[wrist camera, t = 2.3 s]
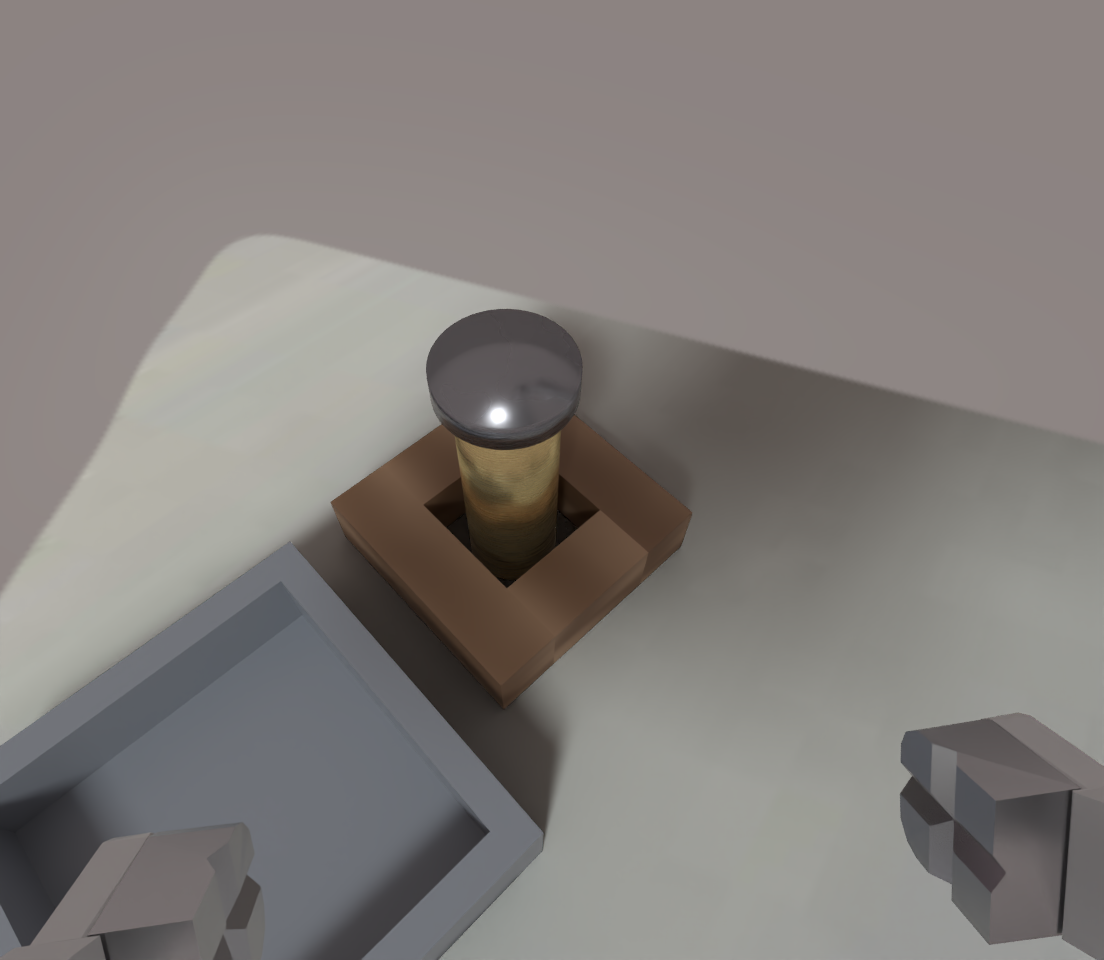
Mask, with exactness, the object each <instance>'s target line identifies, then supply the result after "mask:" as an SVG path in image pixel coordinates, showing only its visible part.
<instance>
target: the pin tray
mask: <svg viewBox="0 0 1104 960" xmlns="http://www.w3.org/2000/svg"><path fill="white" fill-rule="evenodd" d="M238 822H243V823H244V824H245V825H246V826H247V827H248V828H249V830H250V835H251V839H252V844H253V848H254V852H255V854H254V857H253V859H252V862H251V865H250V867H249V870H248V872H247V875H248V876H249V877H251V878H252V879H253V880H254V881H255V882H256V883H257V884H258V885H260V886H261V890H262V895H263V901H264V911H265V934H264V942H263V951H262V957H261V960H438V959H439V958H440V957H441V956H442V955H443V954H444V953H445V952H446V951H447V950H448V949H449V948H450V947H451V946H452V945H453V944H454V943H455V942H456V941H457V940H458V938H459V937H460V936H461V935H462V934H463V933H464V932H465V931H466V930H467V929H468V928H469V927H470V926H471V925H472V924H473V923H474V922H475V921H476V920H477V919H478V918H479V917H480V916H481V914H482V913H483V912H484V911H485V910H486V909H487V908H488V907H489V906H490V905H491V904H492V903H493V902H494V901H495V900H496V899H497V898H498V897H499V896H500V895H501V894H502V893H503V892H504V890H505V889H506V888H507V887H508V886H509V885H510V884H511V883H512V882H513V881H514V880H515V879H516V878H517V877H518V876H519V875H520V874H521V873H522V872H523V871H524V870H525V869H526V867H527V866H528V865H529V864H530V863H531V862H532V861H533V860H534V859H535V858H536V857H537V856H538V855H539V854H540V853H541V852H542V850H543V832H542V831H541V829H540V828H539V827H538V826H537V825H536V824H535V823H534V821H533V820H532V819H531V818H530V817H529V816H528V815H527V813H526V812H525V811H524V810H523V809H522V808H521V806H520V805H519V804H518V803H517V802H516V801H515V800H514V798H513V797H512V796H511V795H510V794H509V793H508V791H507V790H506V789H505V788H504V787H503V786H502V785H501V783H500V782H499V781H498V780H497V779H496V778H495V777H494V775H493V774H492V773H491V772H490V771H489V770H488V768H487V767H486V766H485V765H484V764H483V763H482V762H481V760H480V759H479V758H478V757H477V756H476V755H475V754H474V752H473V751H472V750H471V749H470V748H469V747H468V745H467V744H466V743H465V742H464V741H463V740H462V739H461V737H460V736H459V735H458V734H457V733H456V732H455V730H454V729H453V728H452V727H451V726H450V725H449V724H448V722H447V721H446V720H445V719H444V718H443V717H442V716H441V714H440V713H439V712H438V711H437V710H436V709H435V707H434V706H433V705H432V704H431V703H430V702H429V701H428V699H427V698H426V697H425V696H424V695H423V694H422V693H421V691H420V690H419V689H418V688H417V687H416V686H415V684H414V683H413V682H412V681H411V680H410V679H409V678H408V676H407V675H406V674H405V673H404V672H403V671H402V670H401V668H400V667H399V666H398V665H397V664H396V663H395V661H394V660H393V659H392V658H391V657H390V656H389V655H388V653H387V652H386V651H385V650H384V649H383V648H382V646H381V645H380V644H379V643H378V642H377V641H376V640H375V638H374V637H373V636H372V635H371V634H370V633H369V632H368V630H367V629H366V628H365V627H364V626H363V625H362V623H361V622H360V621H359V620H358V619H357V618H356V617H355V615H354V614H353V613H352V612H351V611H350V610H349V609H348V607H347V606H346V605H345V604H344V603H343V602H342V600H341V599H340V598H339V597H338V596H337V595H336V594H335V592H334V591H333V590H332V589H331V588H330V587H329V585H328V584H327V583H326V582H325V581H324V580H323V579H322V577H321V576H320V575H319V574H318V573H317V572H316V571H315V569H314V568H313V567H312V566H311V565H310V564H309V562H308V561H307V560H306V559H305V558H304V557H303V556H302V554H301V553H300V552H299V551H298V550H297V549H296V548H295V546H294V545H293V544H292V543H291V542H288V543H287V544H286V545H284V546H283V547H281V548H280V549H279V550H277V551H276V552H274V553H273V554H272V555H270V556H269V557H267V558H266V559H264V560H263V561H262V562H260V563H259V564H257V565H256V566H255V567H253V568H252V569H250V570H249V571H247V572H246V573H245V574H243V575H242V576H240V577H239V578H238V579H236V580H235V581H233V582H232V583H230V584H229V585H228V586H226V587H225V588H223V589H222V590H221V591H219V592H218V593H216V594H215V595H213V596H212V597H211V598H209V599H208V600H206V601H205V602H204V603H202V604H201V605H199V606H198V607H196V608H195V609H194V610H192V611H191V612H189V613H188V614H187V615H185V616H184V617H182V618H181V619H179V620H178V621H177V622H175V623H174V624H172V625H171V626H170V627H168V628H167V629H165V630H164V631H163V632H161V633H160V634H158V635H157V636H155V637H154V638H153V639H151V640H150V641H148V642H147V643H146V644H144V645H143V646H141V647H140V648H138V649H137V650H136V651H134V652H133V653H131V654H130V655H129V656H127V657H126V658H124V659H123V660H121V661H120V662H119V663H117V664H116V665H114V666H113V667H112V668H110V669H109V670H107V671H106V672H104V673H103V674H102V675H100V676H99V677H97V678H96V679H95V680H93V681H92V682H90V683H89V684H87V685H86V686H85V687H83V688H82V689H80V690H79V691H78V692H76V693H75V694H73V695H72V696H70V697H69V698H68V699H66V700H65V701H63V702H62V703H61V704H59V705H58V706H56V707H55V708H54V709H52V710H51V711H49V712H48V713H46V714H45V715H44V716H42V717H41V718H39V719H38V720H37V721H35V722H34V723H32V724H31V725H29V726H28V727H27V728H25V729H24V730H22V731H21V732H20V733H18V734H17V735H15V736H14V737H12V738H11V739H10V740H8V741H7V742H5V743H4V744H3V745H1V746H0V957H2V956H3V955H5V954H6V953H8V952H9V951H11V950H12V949H14V948H18V947H24V946H30V945H31V943H32V942H33V940H34V939H35V937H36V936H37V935H38V933H39V932H40V930H41V929H42V928H43V926H44V925H45V923H46V922H47V920H48V919H49V918H50V916H51V915H52V913H53V912H54V910H55V909H56V908H57V906H58V905H59V903H60V902H61V901H62V899H63V898H64V896H65V895H66V893H67V892H68V891H69V889H70V888H71V886H72V885H73V884H74V882H75V881H76V879H77V878H78V876H79V875H80V874H81V872H82V871H83V869H84V868H85V866H86V865H87V864H88V862H89V861H90V859H91V858H92V857H93V855H94V854H95V852H96V851H97V849H98V848H99V847H100V845H101V844H102V843H103V842H105V841H108V840H110V839H112V838H117V837H123V836H130V835H137V834H144V833H157V832H161V831H170V830H178V829H187V828H196V827H204V826H213V825H221V824H230V823H238Z"/></svg>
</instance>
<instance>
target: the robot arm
mask: <svg viewBox="0 0 1104 960" xmlns="http://www.w3.org/2000/svg"><path fill="white" fill-rule="evenodd" d="M901 763H902V764H903V765H904V767H905V768H906V769H907V770H908V772H909V773H910V774H911V775H912V777H911V778H910V780H909V781H908V783H907V784H906V786H905V787H904V789H903V790H902V792H901V793H900V810H901V821H902V824H903V828H904V831H905V835H906V838H907V841H908V843H909V845H910V847H911V849H912V851H913V852H914V854H915V856H916V858H917V859H918V860H919V862H920V863H921V864H922V865H923V867H924V868H925V869H926V870H927V872H928V873H930V874H932V875H934V876H936V877H938V878H940V879H942V880H944V881H946V882H948V883H950V884H952V902H953V903H954V904H955V905H956V906H957V907H958V909H959V910H960V911H961V912H962V913H963V915H964V916H965V917H966V918H967V919H968V920H969V922H970V923H971V924H972V925H973V926H974V928H975V929H976V930H977V931H978V932H979V933H980V935H981V936H982V937H983V938H984V939H985V941H986V942H987V943H988V944H989V945H991V944H999V943H1006V942H1014V941H1021V940H1029V939H1037V938H1044V937H1052V936H1059V935H1062V939H1063V940H1064V941H1066V942H1068V943H1070V944H1071V945H1073V946H1075V947H1076V948H1078V949H1080V950H1081V951H1083V952H1085V953H1086V954H1088V955H1090V956H1091V957H1093V958H1095V959H1096V960H1104V766H1102V765H1101V764H1100V763H1098V762H1097V761H1095V760H1094V759H1092V758H1091V757H1089V756H1088V755H1087V754H1085V753H1084V752H1082V751H1081V750H1079V749H1078V748H1076V747H1075V746H1074V745H1072V744H1071V743H1069V742H1068V741H1066V740H1065V739H1064V738H1062V737H1061V736H1059V735H1058V734H1056V733H1055V732H1053V731H1052V730H1051V729H1049V728H1048V727H1046V726H1045V725H1043V724H1042V723H1041V722H1039V721H1038V720H1036V719H1035V718H1033V717H1032V716H1030V715H1026V714H1022V713H1013V714H1007V715H1001V716H996V717H990V718H984V719H981V720H976V721H970V722H964V723H957V724H951V725H945V726H939V727H932V728H926V729H920V730H914V731H907V732H906V733H905V735H904V738H903V741H902V743H901ZM254 854H255V852H254V848H253V844H252V839H251V835H250V830H249V828H248V827H247V826H246V825H245V824H244V823H243V822H238V823H230V824H221V825H213V826H204V827H196V828H187V829H178V830H170V831H161V832H157V833H144V834H137V835H130V836H123V837H117V838H112V839H110V840H108V841H105V842H103V843H102V844H101V845H100V847H99V848H98V849H97V851H96V852H95V854H94V855H93V857H92V858H91V859H90V861H89V862H88V864H87V865H86V866H85V868H84V869H83V871H82V872H81V874H80V875H79V876H78V878H77V879H76V881H75V882H74V884H73V885H72V886H71V888H70V889H69V891H68V892H67V893H66V895H65V896H64V898H63V899H62V901H61V902H60V903H59V905H58V906H57V908H56V909H55V910H54V912H53V913H52V915H51V916H50V918H49V919H48V920H47V922H46V923H45V925H44V926H43V928H42V929H41V930H40V932H39V933H38V935H37V936H36V937H35V939H34V940H33V942H32V943H31V945H30V946H24V947H18V948H14V949H12V950H11V951H9V952H8V953H6V954H5V955H3V956H2V957H0V960H261V957H262V951H263V942H264V934H265V911H264V901H263V895H262V890H261V886H260V885H258V884H257V883H256V882H255V881H254V880H253V879H252V878H251V877H249V876H248V875H247V872H248V870H249V867H250V865H251V862H252V859H253V857H254Z"/></svg>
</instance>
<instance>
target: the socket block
mask: <svg viewBox="0 0 1104 960" xmlns="http://www.w3.org/2000/svg"><path fill="white" fill-rule="evenodd" d="M331 504H332V507H333V509H334V511H335V514H336V516H337V518H338V521H339V523H340V525H341V527H342V530H343V532H344V534H345V537H346V538H347V539H348V540H349V541H350V542H351V543H352V544H353V545H354V546H355V547H356V549H357V550H358V551H359V552H360V553H361V554H362V555H363V556H364V557H365V558H366V559H367V561H368V562H369V563H370V564H371V565H372V566H373V567H374V568H375V569H376V570H377V572H378V573H379V574H380V575H381V576H382V577H383V578H384V579H385V580H386V581H387V582H388V584H389V585H390V586H391V587H392V588H393V589H394V590H395V591H396V592H397V593H398V594H399V596H400V597H401V598H402V599H403V600H404V601H405V602H406V603H407V604H408V605H409V606H410V608H411V609H412V610H413V611H414V612H415V613H416V614H417V615H418V616H419V617H420V618H421V620H422V621H423V622H424V623H425V624H426V625H427V626H428V627H429V628H430V629H431V631H432V632H433V633H434V634H435V635H436V636H437V637H438V638H439V639H440V640H441V641H442V643H443V644H444V645H445V646H446V647H447V648H448V649H449V650H450V651H451V652H452V653H453V655H454V656H455V657H456V658H457V659H458V660H459V661H460V662H461V663H462V664H463V665H464V667H465V668H466V669H467V670H468V671H469V672H470V673H471V674H472V675H473V676H474V677H475V679H476V680H477V681H478V682H479V683H480V684H481V685H482V686H483V687H484V688H485V690H486V691H487V692H488V693H489V694H490V695H491V696H492V697H493V698H494V699H495V700H496V702H497V703H498V704H499V705H500V706H501V707H502V708H503V709H505V708H506V707H507V706H508V705H509V704H510V703H511V702H513V701H514V700H515V699H516V698H517V697H518V696H519V695H520V694H521V693H522V692H523V691H524V690H526V689H527V688H528V687H529V686H530V685H531V684H532V683H533V682H534V681H535V680H536V679H538V678H539V677H540V676H541V675H542V674H543V673H544V672H545V671H546V670H547V669H548V668H549V667H551V666H552V665H553V664H554V663H555V662H556V661H557V660H558V659H559V658H560V657H561V656H562V655H564V654H565V653H566V652H567V651H568V650H569V649H570V648H571V647H572V646H573V645H574V644H575V643H577V642H578V641H579V640H580V639H581V638H582V637H583V636H584V635H585V634H586V633H587V632H588V631H590V630H591V629H592V628H593V627H594V626H595V625H596V624H597V623H598V622H599V621H600V620H602V619H603V618H604V617H605V616H606V615H607V614H608V613H609V612H610V611H611V610H612V609H613V608H615V607H616V606H617V605H618V604H619V603H620V602H621V601H622V600H623V599H624V598H625V597H626V596H628V595H629V594H630V593H631V592H632V591H633V590H634V589H635V588H636V587H637V586H638V585H639V584H641V583H642V582H643V581H644V580H645V579H646V578H647V577H648V576H649V575H650V574H651V573H653V572H654V571H655V570H656V569H657V568H658V567H659V566H660V565H661V564H662V563H663V562H664V561H666V560H667V559H668V558H669V557H670V556H671V555H672V554H673V553H674V552H675V551H676V550H677V549H679V548H680V547H681V545H682V542H683V539H684V536H685V533H686V530H687V528H688V525H689V522H690V519H691V516H692V512H691V511H690V510H689V509H688V508H686V507H685V506H684V505H683V504H682V503H680V502H679V501H678V500H677V499H676V498H674V497H673V496H672V495H671V494H670V493H668V492H667V491H666V490H665V489H663V488H662V487H661V486H660V485H659V484H657V483H656V482H655V481H654V480H653V479H651V478H650V477H649V476H648V475H647V474H645V473H644V472H643V471H642V470H641V469H639V468H638V467H637V466H636V465H635V464H633V463H632V462H631V461H630V460H628V459H627V458H626V457H625V456H624V455H622V454H621V453H620V452H619V451H618V450H616V449H615V448H614V447H613V446H612V445H610V444H609V443H608V442H607V441H606V440H604V439H603V438H602V437H601V436H600V435H598V434H597V433H596V432H595V431H593V430H592V429H591V428H590V427H589V426H587V425H586V424H585V423H584V422H583V421H581V420H580V419H579V418H578V417H577V416H575V415H574V416H573V417H572V419H571V420H570V421H569V423H568V424H567V425H566V426H565V427H564V428H563V429H562V430H561V439H560V460H559V481H558V502H557V509H558V510H559V511H560V512H561V513H562V514H563V515H564V516H566V517H567V518H568V519H569V520H570V521H571V522H572V523H573V524H574V525H576V526H577V527H578V529H577V530H576V531H575V532H573V533H572V534H571V535H570V536H569V537H567V538H566V539H565V540H564V541H563V542H561V543H560V544H559V545H558V546H557V547H556V548H554V549H553V550H552V551H551V552H550V553H548V554H547V555H546V556H545V557H544V558H542V559H541V560H540V561H539V562H538V563H537V564H535V565H534V566H533V567H532V568H531V569H529V570H528V571H527V572H526V573H525V574H523V575H522V576H521V577H520V578H519V579H518V580H516V581H515V582H514V583H513V584H512V585H510V586H509V587H508V588H506V587H505V586H504V585H503V584H502V583H501V582H500V581H499V580H498V579H497V578H496V577H495V576H494V575H493V574H492V573H491V572H490V571H489V570H488V569H487V568H486V567H485V566H484V565H483V564H482V563H481V562H480V561H479V560H478V559H477V558H476V557H475V556H474V555H473V554H472V553H471V552H470V551H469V550H468V549H467V548H466V547H465V546H464V545H463V544H462V543H461V542H460V541H459V540H458V539H457V538H456V537H455V536H454V535H453V534H452V533H451V532H450V531H449V530H448V529H447V528H446V527H447V526H449V525H450V524H451V523H453V522H454V521H455V520H456V519H458V518H459V517H460V516H462V515H463V514H464V513H466V508H465V501H464V495H463V488H462V481H461V475H460V468H459V461H458V454H457V448H456V441H455V435H453V434H452V433H451V432H450V431H448V430H447V429H446V428H445V427H444V426H443V424H441V425H440V426H439V427H437V428H436V429H434V430H433V431H431V432H430V433H429V434H427V435H426V436H424V437H423V438H421V439H420V440H419V441H417V442H416V443H414V444H413V445H411V446H410V447H409V448H407V449H406V450H404V451H403V452H401V453H400V454H399V455H397V456H396V457H394V458H393V459H391V460H390V461H389V462H387V463H386V464H384V465H383V466H381V467H380V468H379V469H377V470H376V471H374V472H373V473H371V474H370V475H369V476H367V477H366V478H364V479H363V480H361V481H360V482H359V483H357V484H356V485H354V486H353V487H351V488H350V489H349V490H347V491H346V492H344V493H343V494H341V495H340V496H339V497H337V498H336V499H334V500H333V501H331Z"/></svg>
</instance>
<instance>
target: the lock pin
mask: <svg viewBox="0 0 1104 960" xmlns="http://www.w3.org/2000/svg"><path fill="white" fill-rule="evenodd" d="M426 374H427V381H428V387H429V392H430V398H431V403H432V406H433V410H434V412H435V414H436V416H437V418H438V419H439V420H440V422H441V423H442V424H443V426H444V427H445V428H446V429H447V430H448V431H450V432H451V433H452V434H453V435H455V441H456V448H457V454H458V461H459V468H460V475H461V481H462V488H463V495H464V501H465V508H466V515H467V521H468V528H469V535H470V542H471V548H472V553H473V555H474V556H475V557H476V558H477V559H478V560H479V561H480V562H481V563H482V564H483V565H484V566H485V567H486V568H487V569H488V570H489V571H490V572H491V573H492V574H493V575H494V576H495V577H498V578H502V579H507V580H518V579H519V578H520V577H521V576H522V575H523V574H525V573H526V572H527V571H528V570H529V569H531V568H532V567H533V566H534V565H535V564H537V563H538V562H539V561H540V560H541V559H542V558H544V557H545V556H546V555H547V554H548V553H550V552H551V551H552V550H553V549H554V548H555V544H556V523H557V502H558V481H559V460H560V439H561V430H562V429H563V428H564V427H565V426H566V425H567V424H568V423H569V421H570V420H571V419H572V417H573V416H574V414H575V412H576V410H577V407H578V404H579V400H580V392H581V380H582V359H581V355H580V351H579V349H578V347H577V345H576V343H575V342H574V340H573V338H572V337H571V336H570V335H569V334H568V333H567V332H566V331H565V330H564V329H563V328H562V327H561V326H559V325H558V324H556V323H555V322H553V321H551V320H550V319H548V318H546V317H543V316H541V315H538V314H535V313H532V312H528V311H522V310H515V309H496V310H488V311H484V312H479V313H476V314H473V315H470V316H468V317H465V318H463V319H461V320H459V321H458V322H456V323H454V324H453V325H451V326H450V327H449V328H447V329H446V330H445V331H444V332H443V333H442V334H441V335H440V336H439V337H438V339H437V340H436V341H435V343H434V344H433V346H432V348H431V350H430V352H429V355H428V359H427V364H426Z"/></svg>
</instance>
